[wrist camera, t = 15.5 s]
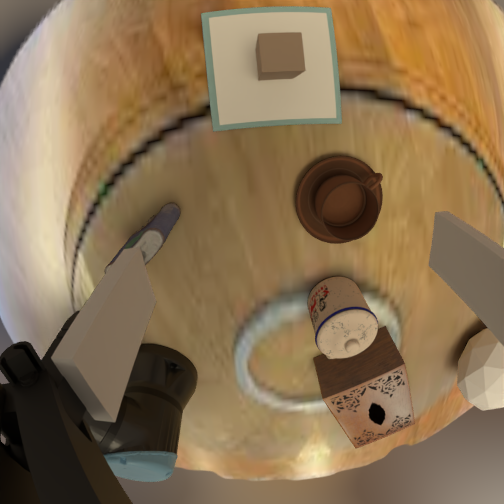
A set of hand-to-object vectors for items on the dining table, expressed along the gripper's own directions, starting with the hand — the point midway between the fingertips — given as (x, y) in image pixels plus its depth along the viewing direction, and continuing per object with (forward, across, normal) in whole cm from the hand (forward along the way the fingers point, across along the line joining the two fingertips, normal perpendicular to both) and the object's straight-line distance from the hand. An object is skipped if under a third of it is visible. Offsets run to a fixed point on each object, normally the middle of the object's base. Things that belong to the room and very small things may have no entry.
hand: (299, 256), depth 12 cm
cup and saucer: (+28, +10, -6) cm, 30 cm away
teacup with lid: (+28, +9, -24) cm, 38 cm away
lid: (+27, +3, +12) cm, 29 cm away
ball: (+27, +48, -43) cm, 70 cm away
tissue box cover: (+28, +18, -45) cm, 56 cm away
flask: (+28, -15, -7) cm, 33 cm away
